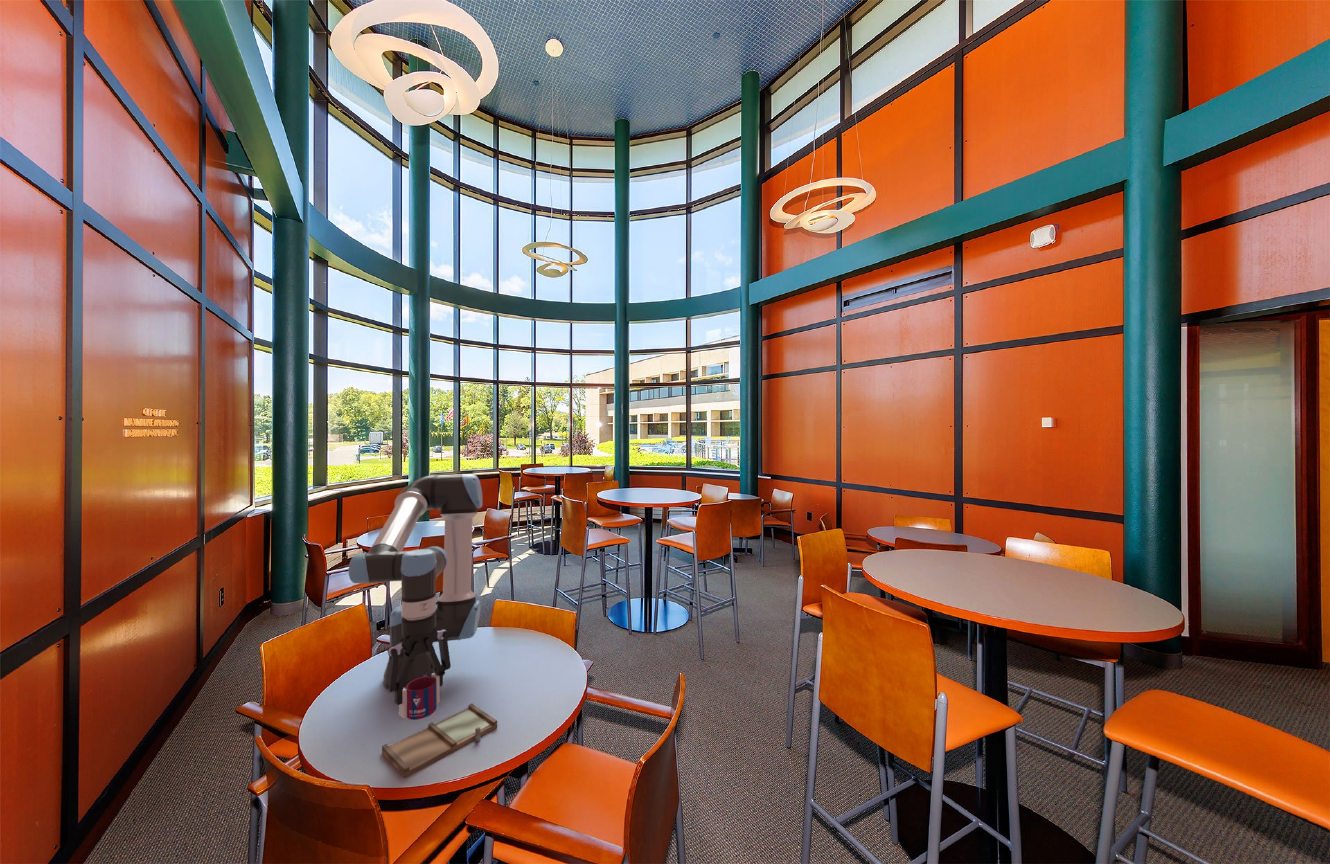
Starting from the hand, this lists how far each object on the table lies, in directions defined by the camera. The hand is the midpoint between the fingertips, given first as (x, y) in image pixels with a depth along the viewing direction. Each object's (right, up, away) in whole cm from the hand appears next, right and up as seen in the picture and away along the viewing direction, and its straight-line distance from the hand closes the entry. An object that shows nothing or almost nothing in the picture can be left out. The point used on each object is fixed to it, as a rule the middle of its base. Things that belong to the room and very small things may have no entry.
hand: (419, 707), depth 114 cm
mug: (+1, -1, +1) cm, 1 cm away
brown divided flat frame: (+4, -10, +4) cm, 12 cm away
